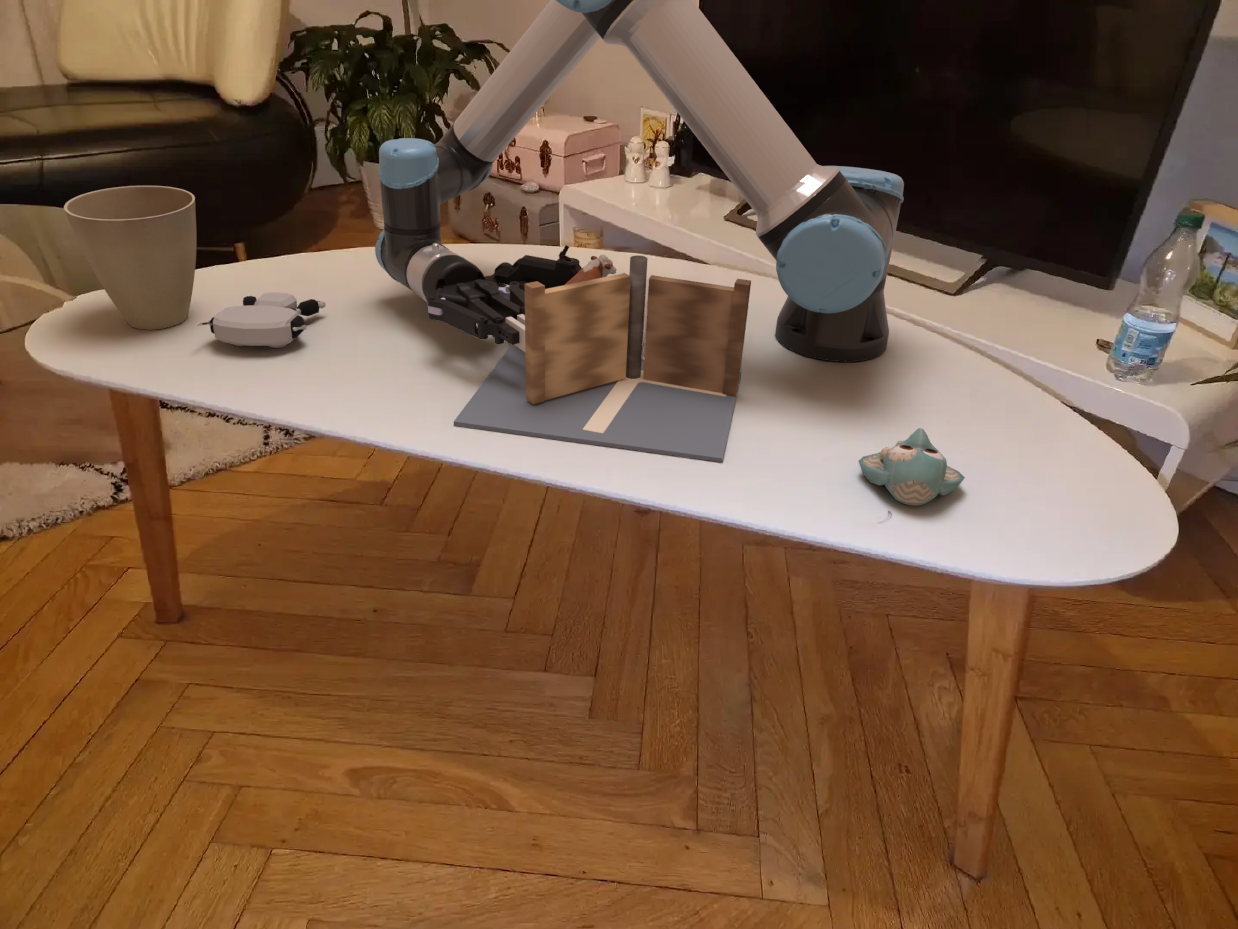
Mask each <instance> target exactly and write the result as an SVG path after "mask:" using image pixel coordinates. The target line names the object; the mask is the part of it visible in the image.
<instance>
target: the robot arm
mask: <svg viewBox="0 0 1238 929" xmlns="http://www.w3.org/2000/svg"><path fill="white" fill-rule="evenodd" d="M600 39H602V40H603V42H604V43H605V44H607V45H608V44H609V45H616V46H623V47H626V49H628V51H629V52H630V54H631V55H632V56H633V57H634V59H635V60H636V62H637V63H638V64H639V66H641V67H642V69H643V70H644V72H645V73H646V74H647V75H648V77H649V78H650V79H651V81H652V82H653V83H654V85H655V86H656V87H657V89H658V90H659V91H660V92H661V93H662V95H663V96H664V97H665V99H667V101H668V103H670V105H671V106H672V107H673V109H674V110H675V111H676V113H677V114H678V115H679V117H681V119H682V120H683V122H684V123H685V125H687V127H688V128H689V129H690V131H691V132H692V133H693V134H694V136H695V138H697V140H698V141H699V142H700V143H701V145H702V146H703V147H704V148H705V150H706V151H707V152H708V154H709V155H710V156H711V157H712V159H713V160H714V161H715V162H716V164H717V165H718V166H719V168H720V169H721V170H722V171H723V173H724V174H725V175H726V177H727V178H728V179H729V180H730V182H731V183H732V184H733V185H734V187H735V188H736V190H737V191H738V192H739V193H740V195H741V196H742V197H743V199H744V200H745V201H746V202H747V203H748V205H749V206H750V208H751V209H752V210H753V211H754V212H755V214H756V218H757V219H756V230H755V235H756V237H757V238H758V240H759V241H760V242H761V243H762V244H763V246H764V247H765V248H766V250H767V251H768V252H769V254H770V255H771V256H772V257H773V259H774V260H775V261H776V262H775V263H776V264H775V270H776V274H777V278H778V282H779V284H780V286H781V288H782V290H783V291H784V293H785V294H786V296H787V298H786V299H785V301H784V303H783V305H782V308H781V310H780V311H779V313H778V316H777V319H776V325H775V334H774V335H775V337H776V339H777V341H778V342H779V343H780V344H781V345H783V347H785V348H787V349H788V350H791V351H792V352H795V353H798V354H800V355H803V356H806V357H810V358H814V359H817V360H823V361H824V360H825V361H829V362H830V361H831V362H845V363H846V362H847V363H848V362H850V363H851V362H860V361H861V362H863V361H868V360H870V359H875V358H877V357H879V356H881V355H882V354H883V353H884V352H885V351H886V350H887V345H888V339H889V336H890V328H889V320H888V315H887V314H888V313H887V308H886V307H887V306H886V298H885V288H886V287H885V286H886V281H887V277H888V271H889V268H890V267H889V266H890V260H891V257H892V256H891V255H892V250H893V246H894V241H895V237H896V236H895V235H896V230H897V226H898V221H899V215H900V210H901V206H902V203H903V202H904V199H905V198H904V196H903V195H904V187H905V182H904V180H903V178H902V177H901V176H899V175H898V174H895V173H893V172H892V173H891V172H887V171H884V170H877V169H872V168H871V169H870V168H865V167H863V168H862V167H854V166H844V165H843V166H842V165H841V166H839V165H820V164H817V162H816V161H815V160H814V158H813V157H812V155H811V154H810V153H809V152H808V150H807V149H806V148H805V147H804V145H803V144H802V142H801V141H800V140H799V138H798V137H797V135H795V133H794V132H793V130H792V129H791V128H790V126H789V125H788V124H787V123H786V122H785V120H784V119H783V117H782V116H781V114H779V112H778V111H777V110H776V108H775V107H774V105H773V104H772V103H771V101H770V100H769V99H768V97H767V96H766V95H765V94H764V92H763V91H762V89H760V87H759V86H758V84H757V83H756V82H755V80H754V79H753V78H752V76H751V75H750V74H749V73H748V71H747V70H746V68H745V67H744V66H743V64H742V63H741V62H740V61H739V59H738V58H737V57H736V56H735V54H734V52H732V50H731V49H730V47H729V46H728V45H727V44H726V42H725V40H724V39H723V38H722V37H721V35H720V33H718V31H717V30H716V29H715V27H714V26H713V25H712V24H711V22H710V21H709V20H708V18H707V17H706V15H704V13H703V12H702V11H701V9H700V7H699V6H698V5H697V4H696V3H695V1H694V0H549V1H548V3H547V4H546V6H544V8H543V9H542V10H541V11H540V13H539V14H538V15H537V16H536V17H535V19H534V21H533V22H532V23H531V24H530V25H529V27H528V28H527V30H525V32H524V33H523V35H522V36H521V37H520V38H519V40H518V41H517V42H516V43H515V44H514V46H513V47H512V48H511V50H509V52H508V53H507V55H506V56H505V57H504V59H503V60H502V61H501V62H500V64H499V65H498V66H497V67H496V68H495V69H494V71H493V72H492V74H491V75H490V76H489V77H488V79H487V80H486V81H485V82H484V83H483V85H482V86H481V87H480V89H479V90H478V92H477V93H476V94H475V95H474V96H473V98H472V99H471V100H470V102H469V103H468V104H467V106H465V108H464V109H463V110H462V112H461V113H460V114H459V115H458V117H456V119H455V121H454V123H453V124H452V125H451V126H450V127H449V128H448V130H447V131H446V132H445V133H444V134H443V136H442V137H441V138H440V139H439V141H437V142H436V143H433V142H431V141H429V140H426V139H424V138H423V139H422V138H417V137H416V138H415V137H413V138H412V137H411V138H410V137H406V138H405V137H401V138H398V139H389V140H386V141H384V142H383V143H382V144H381V146H380V147H379V150H378V158H379V159H378V162H379V164H378V166H379V169H378V178H379V185H380V186H379V187H380V195H381V196H380V197H381V206H382V218H383V230H382V231H381V232H380V233H379V235H378V238H377V240H376V243H375V246H374V252H375V253H374V254H375V258H376V261H377V263H378V265H379V266H380V267H381V268H382V270H384V271H385V272H386V273H387V274H388V276H389V277H391V279H392V280H394V281H395V282H397V283H400V284H401V285H403V286H404V287H406V288H408V289H409V290H411V291H412V293H414V294H415V295H416V296H418V297H419V298H420V299H422V300H423V301H425V302H426V303H427V312H428V314H427V315H428V319H430V320H433V321H438V322H442V323H444V324H446V325H449V326H451V327H453V328H455V329H457V330H459V331H461V332H464V333H466V334H468V335H469V336H472V337H475V338H476V339H478V340H482V341H486V340H488V338H489V336H492V337H493V338H494V339H493V340H494V344H496V345H503V344H505V343H507V344H509V345H513V344H514V345H515V346H517V347H518V348H520V349H521V350H523V351H524V352H525V293H524V292H523V291H522V290H521V289H520V288H519V282H515V281H513V282H510V285H505V286H504V287H503V286H502V287H501V286H498V285H497V284H496V283H495V282H491V281H487V280H486V278H485V275H484V274H483V272H482V270H481V269H480V268H479V267H478V266H477V265H476V264H474V263H473V262H472V261H470V260H468V259H466V258H465V257H462V256H460V255H459V254H457V253H456V252H454V251H453V250H450V249H449V248H448V247H447V246H445V244H442V234H441V231H442V230H441V227H442V226H441V206H440V205H442V204H445V203H446V202H448V201H450V200H452V199H454V198H457V197H458V196H460V195H462V194H465V193H466V192H469V191H472V190H474V189H476V188H477V187H479V186H480V185H481V184H483V183H484V182H485V181H486V180H487V179H488V178H489V176H490V175H491V173H492V169H493V165H494V163H495V161H497V159H498V157H499V156H500V155H501V154H502V153H503V151H505V150H506V149H507V147H508V146H509V145H510V143H512V142H513V140H514V139H515V138H516V137H517V135H518V134H519V133H520V132H521V131H522V129H524V127H525V126H526V125H527V124H528V123H529V122H530V120H531V119H532V118H533V117H534V115H536V114H537V112H538V111H539V110H540V108H542V107H543V105H544V104H545V103H546V101H547V100H548V99H549V98H550V97H551V96H552V95H553V94H554V93H555V91H556V90H557V89H558V88H559V87H560V86H561V84H563V82H564V81H565V80H566V78H568V76H569V75H570V74H571V73H572V72H573V71H574V69H575V68H576V67H577V66H578V65H579V64H580V62H581V61H582V60H583V59H584V58H585V56H586V55H588V53H589V52H590V51H591V50H592V48H593V47H594V46H595V45H596V44H597V43H598V41H599V40H600Z"/></svg>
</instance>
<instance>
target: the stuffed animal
mask: <svg viewBox="0 0 1238 929" xmlns="http://www.w3.org/2000/svg"><path fill="white" fill-rule="evenodd" d="M858 464H859V467H860V469H861V472H862V474H863V475H864V477H866V478H867V480H868V482H869V483H870V484H874V485H877V486H885V489H887V491H888V492H889V493H890V494H891V496H892V497H893V498H894V500H895V501H898V502H899V503H901V504H905V505H908V506H924V505H926V504H928V503H929V502H931V501H932V500H933V499H934V498H936V497H937V496H938V495H940V496H948V495H949V494H950V493H952V492H953V491H955V490H956V489H957V488H958V487H959V486H960V485H961V484H962V482H963V481H964V480H965V478H966V477H965V476H964V475H963V474H962V473H961V472H960V471H958V470H957V469H954V468H953V467H952V466H948V464H947V458H946V457H945V456H944V455H943V454H942V453H941V452H940V451H939V450H938V449H937V447H935V446H934V445H933V443H932V442H931V440H930V438H929V436H928V434H927V432H926V431H925V429H924V428H922V427H919V428H917V429H915V431H914V432H913V433H912V434H910V436H909V437H908V438H907V439H903V440H898V441H897V442H896V443H895V444H894V446H892V447H887V446H885V447H883V448H882V449H881V451H880V452H877V453H872V454H869V455H865V456H862V457H861V458H860V459H859V460H858Z"/></svg>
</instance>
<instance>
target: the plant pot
mask: <svg viewBox="0 0 1238 929" xmlns="http://www.w3.org/2000/svg"><path fill="white" fill-rule="evenodd" d="M63 210H64V213H65V215H66V217H67V220H68V222H69V224H70V226H71V228H72V230H73V233H74V235H75V238H76V240H77V242H78V244H79V247H80V249H81V250H82V252H83V254H84V256H85V259H86V260H87V262H88V264H89V265H90V267H91V269H92V271H93V273H94V275H95V276H96V278H97V280H98V282H99V283H100V285H101V286H102V288H103V289H104V291H105V292H106V294H107V296H108V298H109V299H110V300H111V301H112V303H113V304H114V306H115V308H116V309H117V310H118V311H119V313H120V314H121V316H122V317H123V318H124V320H125V321H126V322H127V323H128V325H129V326H131V327H132V328H134V327H135V329H139V330H145V329H146V330H147V331H149V330H150V331H151V330H161V329H168V328H171V327H174V325H175V326H177V325H179V324H182V323H183V322H185V321H186V320H187V319H188V316H189V312H190V308H191V307H190V306H191V302H192V295H193V290H194V284H195V283H194V281H195V274H196V265H197V264H196V262H197V218H196V217H197V216H196V214H197V212H196V197H195V195H194V194H193V193H192V192H190V191H188V190H185V189H183V188H177V187H172V186H163V185H127V186H118V187H116V186H115V187H111V188H110V187H109V188H103V189H99V190H94V191H93V190H92V191H90V192H86V193H82V194H80V195H77V196H75V197H73V198H70V199H69V200H68V201H66V202H65V204H64V205H63ZM167 327H168V328H167Z"/></svg>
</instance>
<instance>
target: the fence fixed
mask: <svg viewBox="0 0 1238 929" xmlns="http://www.w3.org/2000/svg"><path fill="white" fill-rule="evenodd" d="M629 258H630V259H629V274H628V275H629V276H631V279H630V300H629V320H628V341H627V361H626V377H627V378H630V379H637V378H640V377H641V363H642V360H644V370H643V379H644V380H649V381H655V382H660V383H666V384H672V385H678V386H683V387H689V388H695V389H700V390H706V391H712V392H718V393H722V394H725V395H727V396H733V397H736V398H737V396H738V393H739V389H740V388H739V386H740V382H739V380H740V381H741V377H740V372H742V371H741V370H742V360H743V353H744V345H745V336H746V328H747V322H748V321H747V319H748V312H749V301H750V294H751V286H752V280H749V279H745V278H744V279H742V278H737V279H736V280H735V282H734V286H728V285H721V284H715V283H708V282H700V281H694V280H686V279H680V278H675V277H667V276H660V275H653V274H652V275H650V277H649V278H648V287H647V274H648V273H647V272H648V257H646V256H645V255H632V256H630V257H629ZM647 288H648V289H647ZM646 290H647V293H646ZM646 295H647V307H646ZM646 309H647V310H646ZM645 310H646V311H645ZM645 312H646V320H645ZM645 323H646V324H645ZM644 324H645V325H644ZM644 328H645V337H644ZM643 341H644V342H643ZM643 343H644V346H643ZM643 347H644V356H643ZM643 357H644V359H643ZM736 395H737V396H736Z"/></svg>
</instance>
